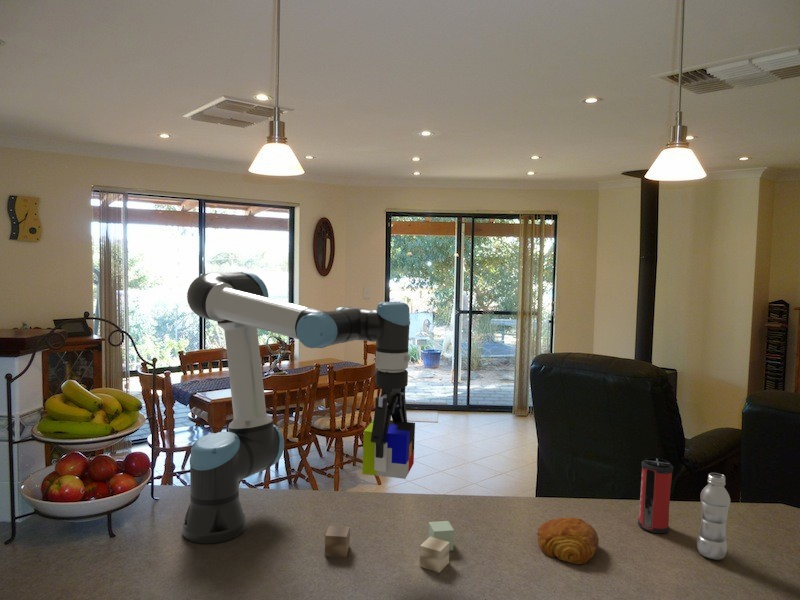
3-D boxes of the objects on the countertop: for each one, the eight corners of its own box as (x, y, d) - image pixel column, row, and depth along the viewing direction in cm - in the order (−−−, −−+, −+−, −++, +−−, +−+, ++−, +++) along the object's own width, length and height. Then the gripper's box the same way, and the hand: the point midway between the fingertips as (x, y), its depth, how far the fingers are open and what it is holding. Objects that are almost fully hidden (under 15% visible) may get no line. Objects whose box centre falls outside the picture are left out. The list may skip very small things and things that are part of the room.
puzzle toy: (405, 478, 131) (407, 435, 130) (362, 473, 133) (363, 430, 132) (413, 463, 141) (415, 422, 140) (373, 459, 143) (374, 419, 142)
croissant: (600, 551, 146) (603, 519, 147) (592, 572, 132) (596, 536, 133) (542, 536, 153) (545, 505, 153) (529, 554, 139) (532, 520, 139)
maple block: (419, 566, 132) (420, 545, 132) (429, 557, 137) (430, 536, 136) (439, 573, 130) (440, 551, 130) (448, 563, 134) (449, 542, 134)
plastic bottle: (723, 552, 143) (729, 472, 141) (728, 565, 136) (735, 482, 135) (694, 547, 145) (699, 468, 143) (698, 560, 139) (704, 478, 137)
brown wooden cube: (324, 556, 136) (325, 535, 135) (328, 545, 141) (329, 525, 140) (345, 557, 135) (346, 536, 135) (349, 547, 140) (349, 526, 140)
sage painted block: (433, 551, 139) (433, 531, 139) (428, 541, 144) (428, 522, 144) (453, 550, 140) (454, 530, 140) (447, 540, 145) (448, 520, 145)
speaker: (670, 536, 150) (675, 468, 149) (638, 531, 153) (642, 464, 151) (667, 524, 157) (672, 459, 156) (637, 518, 160) (641, 454, 159)
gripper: (389, 380, 123) (386, 482, 125) (422, 362, 144) (419, 449, 146) (356, 376, 125) (354, 477, 127) (393, 359, 147) (390, 445, 149)
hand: (389, 462), depth 137 cm, fingers closed on puzzle toy, 10 cm apart
